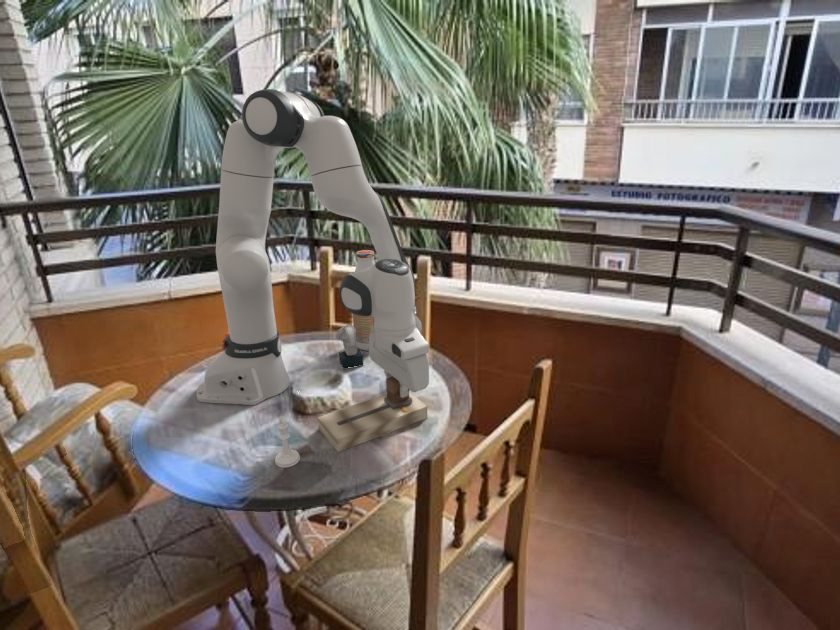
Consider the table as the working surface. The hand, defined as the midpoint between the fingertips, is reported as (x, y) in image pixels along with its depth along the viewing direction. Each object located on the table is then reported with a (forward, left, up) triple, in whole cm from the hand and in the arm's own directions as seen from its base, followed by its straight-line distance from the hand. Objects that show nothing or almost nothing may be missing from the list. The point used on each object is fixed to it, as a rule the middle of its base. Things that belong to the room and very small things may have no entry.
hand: (397, 391), depth 120 cm
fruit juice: (-8, +38, -6) cm, 40 cm away
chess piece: (-23, -15, -6) cm, 28 cm away
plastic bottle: (+3, +16, -6) cm, 18 cm away
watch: (-13, +26, -6) cm, 30 cm away
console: (-6, -3, -6) cm, 9 cm away
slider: (0, 0, -3) cm, 3 cm away
